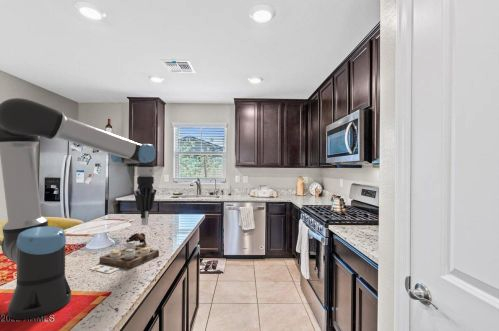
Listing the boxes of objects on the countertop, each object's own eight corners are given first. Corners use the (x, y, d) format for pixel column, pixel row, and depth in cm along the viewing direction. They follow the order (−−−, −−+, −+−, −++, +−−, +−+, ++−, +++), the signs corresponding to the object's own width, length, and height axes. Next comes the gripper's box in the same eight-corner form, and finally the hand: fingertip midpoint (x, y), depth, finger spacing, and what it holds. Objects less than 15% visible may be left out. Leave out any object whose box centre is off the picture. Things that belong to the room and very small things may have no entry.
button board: (128, 268, 108) (128, 262, 108) (99, 262, 115) (99, 257, 115) (158, 255, 124) (158, 250, 124) (131, 250, 131) (131, 246, 131)
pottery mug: (143, 250, 135) (135, 237, 133) (129, 256, 136) (120, 244, 134) (152, 238, 146) (145, 226, 145) (139, 244, 148) (131, 233, 146)
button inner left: (114, 262, 114) (114, 254, 114) (107, 260, 116) (107, 252, 116) (122, 258, 118) (122, 251, 118) (115, 257, 120) (116, 250, 120)
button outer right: (144, 258, 119) (144, 250, 119) (137, 257, 121) (137, 249, 121) (151, 255, 123) (151, 247, 123) (144, 254, 125) (144, 246, 125)
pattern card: (109, 273, 102) (109, 272, 102) (88, 269, 107) (88, 268, 107) (119, 269, 107) (119, 268, 107) (99, 265, 112) (99, 264, 112)
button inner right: (129, 260, 111) (129, 252, 111) (121, 258, 112) (122, 250, 112) (137, 257, 115) (137, 249, 115) (130, 255, 116) (130, 248, 116)
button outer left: (130, 251, 122) (130, 244, 123) (124, 250, 124) (124, 243, 124) (137, 248, 127) (138, 241, 127) (131, 247, 128) (131, 240, 128)
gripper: (140, 176, 115) (140, 228, 114) (161, 175, 127) (160, 222, 127) (128, 176, 118) (127, 226, 117) (149, 175, 130) (148, 221, 129)
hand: (144, 224), depth 122 cm, fingers closed
